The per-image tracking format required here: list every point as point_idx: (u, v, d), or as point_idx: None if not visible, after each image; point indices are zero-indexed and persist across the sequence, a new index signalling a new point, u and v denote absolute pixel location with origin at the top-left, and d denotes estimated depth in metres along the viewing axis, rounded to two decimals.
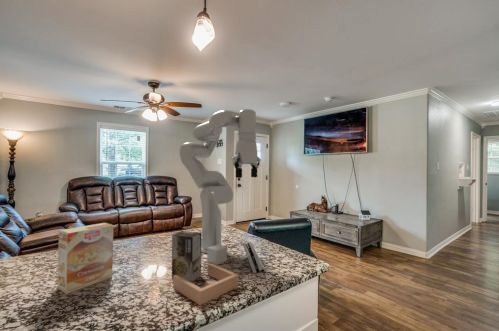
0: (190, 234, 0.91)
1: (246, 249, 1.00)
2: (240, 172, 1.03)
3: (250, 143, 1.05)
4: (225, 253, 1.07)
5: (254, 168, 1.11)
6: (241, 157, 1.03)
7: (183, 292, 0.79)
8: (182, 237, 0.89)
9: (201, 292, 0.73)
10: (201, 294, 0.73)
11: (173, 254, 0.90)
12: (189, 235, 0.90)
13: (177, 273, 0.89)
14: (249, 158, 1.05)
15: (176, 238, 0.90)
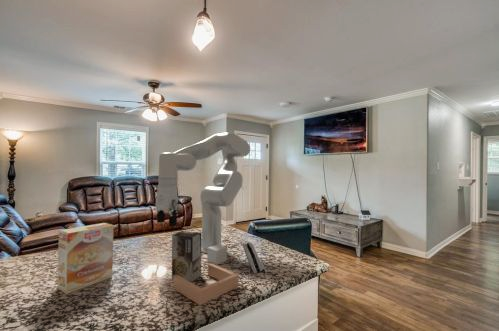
0: (190, 234, 0.91)
1: (246, 249, 1.00)
2: (176, 220, 0.99)
3: None
4: (225, 253, 1.07)
5: (162, 212, 1.05)
6: None
7: (183, 292, 0.79)
8: (182, 237, 0.89)
9: (201, 292, 0.73)
10: (201, 294, 0.73)
11: (173, 254, 0.90)
12: (189, 235, 0.90)
13: (177, 273, 0.89)
14: None
15: (176, 238, 0.90)
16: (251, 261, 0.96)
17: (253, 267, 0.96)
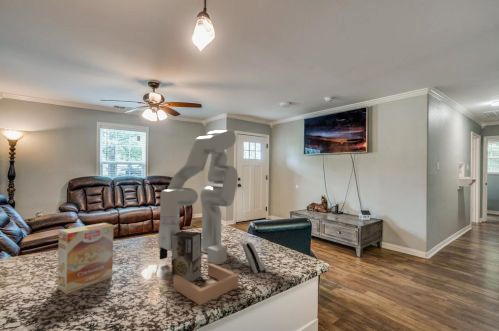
0: (190, 234, 0.91)
1: (247, 249, 1.00)
2: None
3: None
4: (225, 253, 1.07)
5: (164, 249, 1.04)
6: None
7: (183, 292, 0.79)
8: (182, 237, 0.89)
9: (201, 292, 0.73)
10: (201, 294, 0.73)
11: (173, 254, 0.90)
12: (189, 235, 0.90)
13: (177, 273, 0.89)
14: None
15: (176, 238, 0.90)
16: (252, 261, 0.96)
17: (254, 267, 0.96)
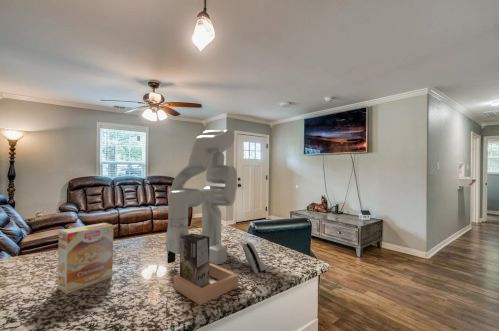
0: (197, 238, 0.86)
1: (247, 250, 1.00)
2: None
3: None
4: (225, 253, 1.07)
5: (172, 252, 1.00)
6: None
7: (183, 292, 0.79)
8: (188, 240, 0.85)
9: (201, 292, 0.73)
10: (201, 294, 0.73)
11: (180, 257, 0.87)
12: (195, 239, 0.85)
13: (184, 277, 0.86)
14: None
15: (183, 241, 0.86)
16: (252, 261, 0.96)
17: (254, 267, 0.96)
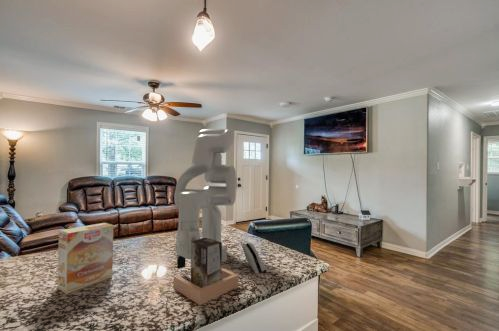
0: (208, 243, 0.80)
1: (247, 250, 0.99)
2: None
3: None
4: (225, 253, 1.07)
5: (182, 257, 0.94)
6: None
7: (183, 292, 0.79)
8: (199, 245, 0.80)
9: (201, 292, 0.73)
10: (201, 294, 0.73)
11: (191, 263, 0.82)
12: (206, 244, 0.79)
13: None
14: None
15: (194, 245, 0.81)
16: (253, 262, 0.95)
17: (255, 268, 0.95)
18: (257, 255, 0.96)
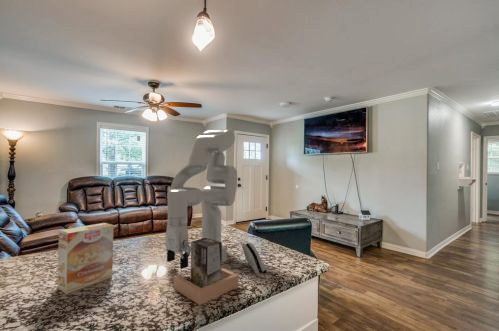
0: (208, 243, 0.80)
1: (247, 250, 0.99)
2: None
3: None
4: (225, 253, 1.07)
5: (172, 251, 1.00)
6: (187, 244, 0.95)
7: (183, 292, 0.79)
8: (199, 245, 0.80)
9: (201, 292, 0.73)
10: (201, 294, 0.73)
11: (191, 263, 0.82)
12: (206, 244, 0.79)
13: None
14: None
15: (194, 245, 0.81)
16: (253, 262, 0.95)
17: (255, 268, 0.95)
18: (257, 255, 0.96)
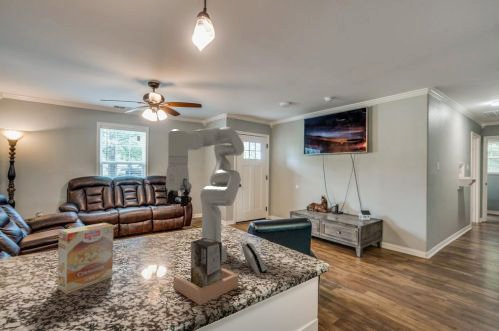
0: (208, 243, 0.80)
1: (248, 250, 0.99)
2: None
3: None
4: (225, 253, 1.07)
5: (172, 193, 1.01)
6: None
7: (183, 292, 0.79)
8: (199, 245, 0.80)
9: (201, 292, 0.73)
10: (201, 294, 0.73)
11: (191, 263, 0.82)
12: (206, 244, 0.79)
13: None
14: None
15: (194, 245, 0.81)
16: (254, 262, 0.95)
17: (256, 268, 0.95)
18: (258, 255, 0.96)
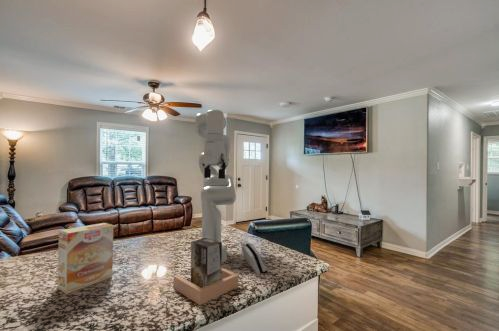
0: (208, 243, 0.80)
1: (248, 250, 0.99)
2: None
3: None
4: (225, 253, 1.07)
5: (208, 169, 1.10)
6: None
7: (183, 292, 0.79)
8: (199, 245, 0.80)
9: (201, 292, 0.73)
10: (201, 294, 0.73)
11: (191, 263, 0.82)
12: (206, 244, 0.79)
13: None
14: None
15: (194, 245, 0.81)
16: (254, 262, 0.95)
17: (256, 268, 0.95)
18: (258, 255, 0.96)
